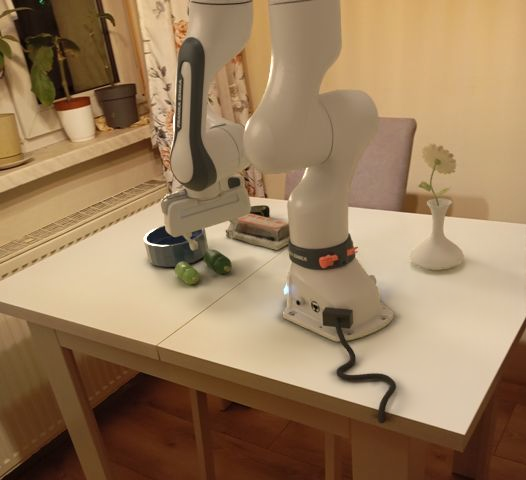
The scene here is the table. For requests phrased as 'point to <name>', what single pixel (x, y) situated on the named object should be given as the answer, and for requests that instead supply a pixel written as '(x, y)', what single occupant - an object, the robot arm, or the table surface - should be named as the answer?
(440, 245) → the flower in vase
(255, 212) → the tape measure
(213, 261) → the zucchini
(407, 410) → the table surface
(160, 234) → the bowl
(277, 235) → the packaged product
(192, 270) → the pale zucchini
